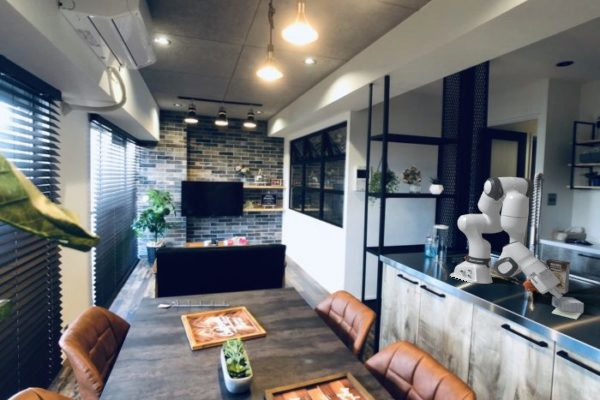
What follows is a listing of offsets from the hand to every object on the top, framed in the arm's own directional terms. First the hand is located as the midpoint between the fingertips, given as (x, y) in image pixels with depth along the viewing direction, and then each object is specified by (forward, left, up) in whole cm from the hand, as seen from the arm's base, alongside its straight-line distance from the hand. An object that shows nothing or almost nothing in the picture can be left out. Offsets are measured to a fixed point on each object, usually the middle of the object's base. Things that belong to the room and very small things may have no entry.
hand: (560, 297), depth 148 cm
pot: (-17, +23, -7) cm, 29 cm away
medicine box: (-2, +1, -4) cm, 4 cm away
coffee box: (-9, +35, -7) cm, 37 cm away
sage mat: (+3, 0, -6) cm, 7 cm away
